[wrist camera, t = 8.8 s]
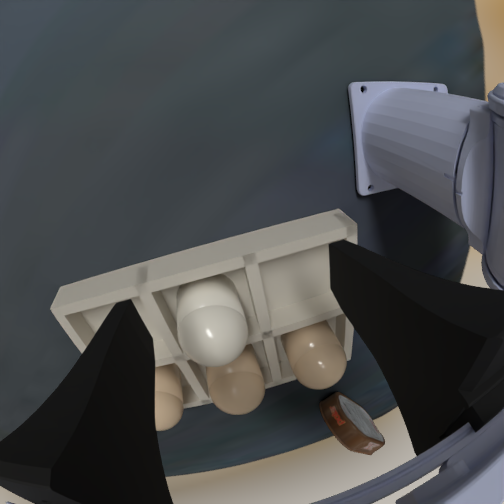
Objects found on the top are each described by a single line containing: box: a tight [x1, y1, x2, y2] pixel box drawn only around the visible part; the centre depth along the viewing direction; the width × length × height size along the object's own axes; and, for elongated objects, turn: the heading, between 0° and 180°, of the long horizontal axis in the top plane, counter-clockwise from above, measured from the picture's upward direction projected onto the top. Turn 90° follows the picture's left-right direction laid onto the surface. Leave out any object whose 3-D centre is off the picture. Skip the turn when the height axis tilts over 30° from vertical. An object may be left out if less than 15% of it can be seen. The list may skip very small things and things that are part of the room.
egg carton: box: [50, 209, 357, 408], centre depth 22 cm, size 21×14×3 cm
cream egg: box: [176, 274, 248, 367], centre depth 19 cm, size 4×4×6 cm
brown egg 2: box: [280, 320, 347, 389], centre depth 23 cm, size 4×4×6 cm
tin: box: [319, 392, 385, 455], centre depth 32 cm, size 15×3×8 cm, turn 38°
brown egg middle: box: [205, 344, 265, 415], centre depth 22 cm, size 4×4×6 cm
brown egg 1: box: [155, 363, 184, 431], centre depth 22 cm, size 4×4×6 cm
